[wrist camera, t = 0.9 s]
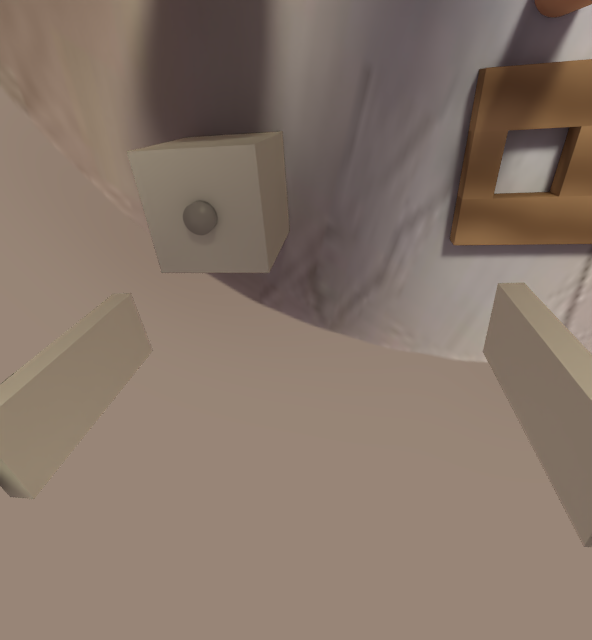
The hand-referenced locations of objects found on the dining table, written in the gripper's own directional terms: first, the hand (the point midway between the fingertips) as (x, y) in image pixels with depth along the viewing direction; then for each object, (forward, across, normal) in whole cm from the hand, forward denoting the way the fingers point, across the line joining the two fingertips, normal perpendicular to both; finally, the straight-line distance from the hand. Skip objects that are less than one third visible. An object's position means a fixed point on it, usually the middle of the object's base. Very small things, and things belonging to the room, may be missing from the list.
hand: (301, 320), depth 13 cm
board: (+20, +18, +1) cm, 27 cm away
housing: (+20, -8, +1) cm, 22 cm away
